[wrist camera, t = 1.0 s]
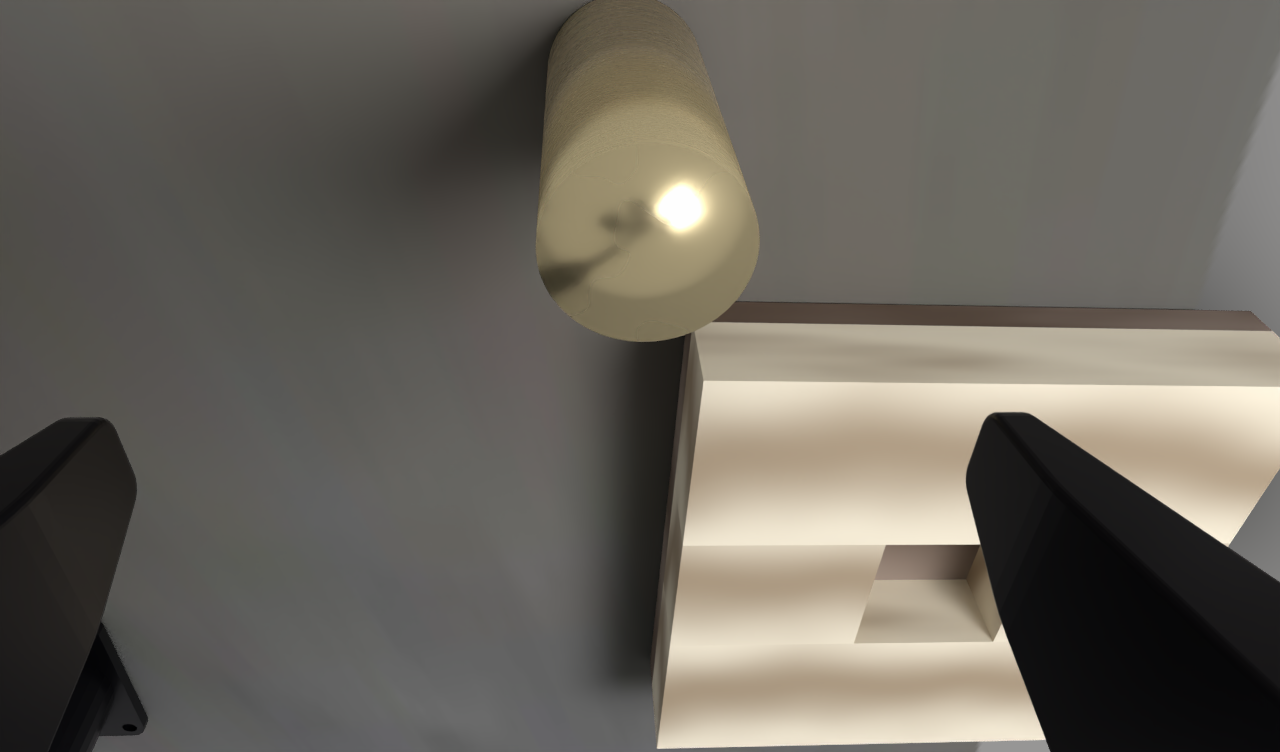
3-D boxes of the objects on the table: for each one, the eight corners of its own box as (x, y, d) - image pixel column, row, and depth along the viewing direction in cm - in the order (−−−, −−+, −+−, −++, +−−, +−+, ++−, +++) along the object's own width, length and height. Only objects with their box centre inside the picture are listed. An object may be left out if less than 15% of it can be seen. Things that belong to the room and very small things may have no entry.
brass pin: (694, 150, 22) (744, 342, 15) (547, 145, 21) (536, 340, 15) (709, -3, 20) (775, 147, 13) (547, -10, 19) (534, 139, 13)
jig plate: (1059, 655, 35) (1100, 738, 32) (650, 661, 34) (656, 748, 31) (1250, 310, 26) (1333, 387, 23) (688, 301, 24) (703, 381, 21)
